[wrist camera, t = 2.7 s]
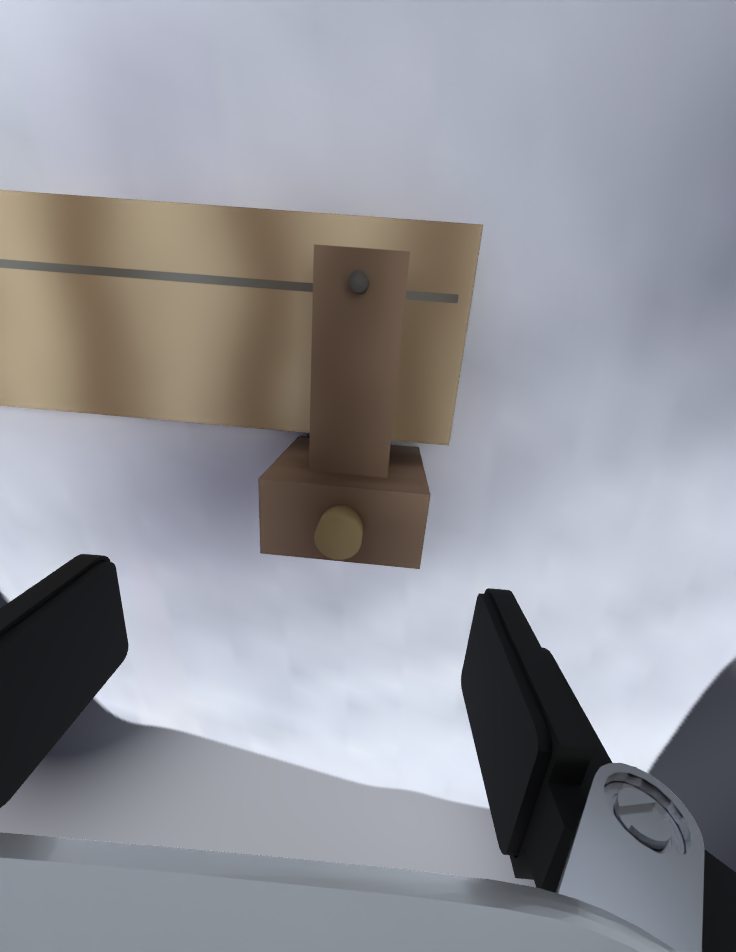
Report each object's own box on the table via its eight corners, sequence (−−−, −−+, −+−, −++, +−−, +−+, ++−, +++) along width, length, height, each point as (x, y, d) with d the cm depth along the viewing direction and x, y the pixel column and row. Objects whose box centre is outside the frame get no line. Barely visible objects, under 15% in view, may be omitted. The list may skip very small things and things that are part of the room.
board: (469, 241, 16) (483, 224, 13) (441, 431, 18) (448, 445, 16) (-180, 194, 16) (-276, 170, 14) (-113, 382, 19) (-184, 389, 17)
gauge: (440, 277, 16) (474, 236, 9) (410, 511, 20) (419, 597, 13) (300, 267, 16) (238, 219, 10) (297, 500, 20) (251, 580, 13)
